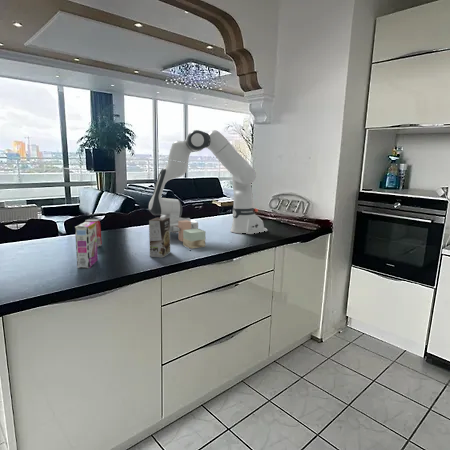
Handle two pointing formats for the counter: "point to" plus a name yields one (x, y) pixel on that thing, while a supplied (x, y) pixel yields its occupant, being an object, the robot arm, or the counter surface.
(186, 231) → the sage slab
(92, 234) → the candy bar box
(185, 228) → the coral block
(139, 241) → the counter surface
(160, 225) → the coffee box
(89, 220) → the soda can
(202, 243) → the oak slab
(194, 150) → the robot arm
